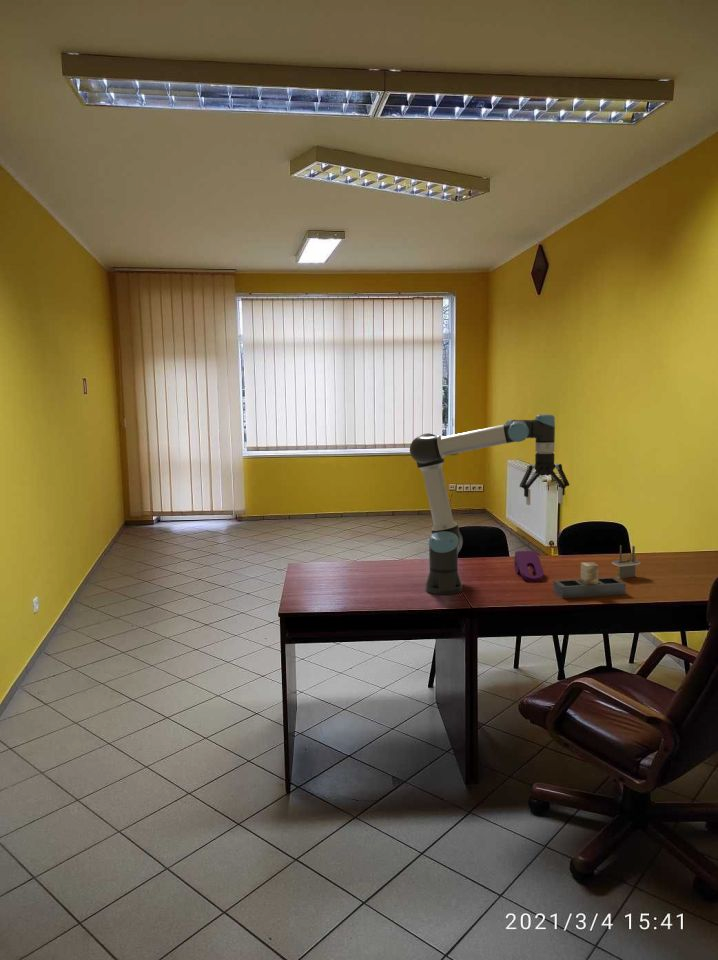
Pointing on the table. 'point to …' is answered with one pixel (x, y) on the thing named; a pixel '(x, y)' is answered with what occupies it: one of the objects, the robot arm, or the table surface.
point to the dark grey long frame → (589, 588)
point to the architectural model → (626, 564)
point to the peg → (589, 573)
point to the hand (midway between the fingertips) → (544, 504)
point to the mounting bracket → (525, 560)
